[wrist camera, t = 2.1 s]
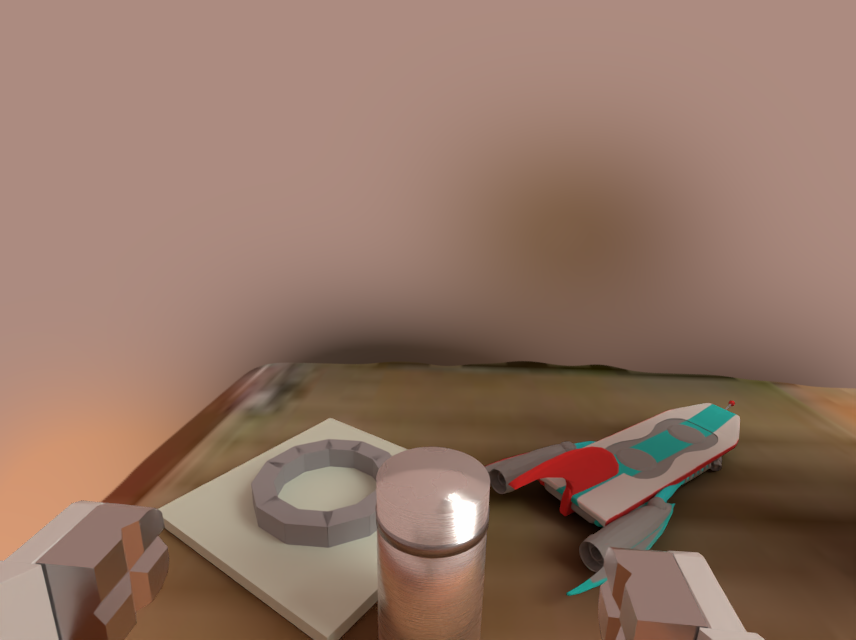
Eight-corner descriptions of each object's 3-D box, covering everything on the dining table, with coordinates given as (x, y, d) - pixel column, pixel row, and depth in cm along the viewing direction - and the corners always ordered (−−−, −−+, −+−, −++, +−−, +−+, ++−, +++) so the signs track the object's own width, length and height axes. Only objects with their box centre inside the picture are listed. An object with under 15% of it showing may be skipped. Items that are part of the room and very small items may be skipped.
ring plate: (330, 425, 47) (329, 402, 47) (486, 491, 39) (488, 464, 38) (155, 521, 35) (150, 491, 34) (327, 650, 26) (325, 613, 26)
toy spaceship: (646, 410, 54) (659, 363, 52) (768, 467, 46) (788, 413, 44) (446, 495, 36) (457, 428, 35) (587, 612, 28) (610, 531, 27)
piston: (418, 592, 30) (420, 435, 27) (498, 640, 27) (511, 470, 24) (355, 659, 26) (350, 483, 23) (442, 723, 23) (450, 532, 20)
